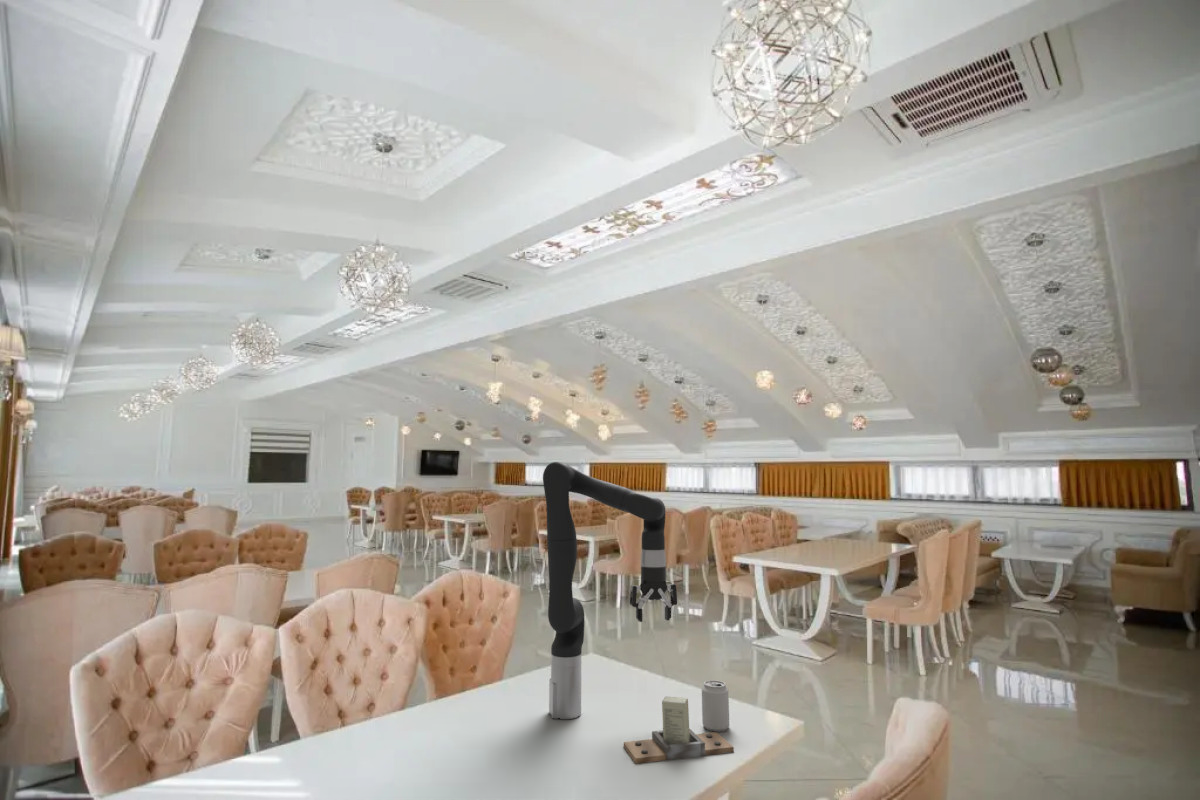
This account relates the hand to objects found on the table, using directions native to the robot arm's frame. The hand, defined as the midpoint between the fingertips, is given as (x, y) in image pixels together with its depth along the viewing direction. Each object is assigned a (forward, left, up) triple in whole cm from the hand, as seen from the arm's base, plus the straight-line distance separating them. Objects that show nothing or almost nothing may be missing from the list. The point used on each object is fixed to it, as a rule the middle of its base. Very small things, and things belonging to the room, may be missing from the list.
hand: (653, 620), depth 177 cm
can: (+15, -9, -28) cm, 33 cm away
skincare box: (-1, -20, -28) cm, 34 cm away
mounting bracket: (-1, -20, -28) cm, 34 cm away
